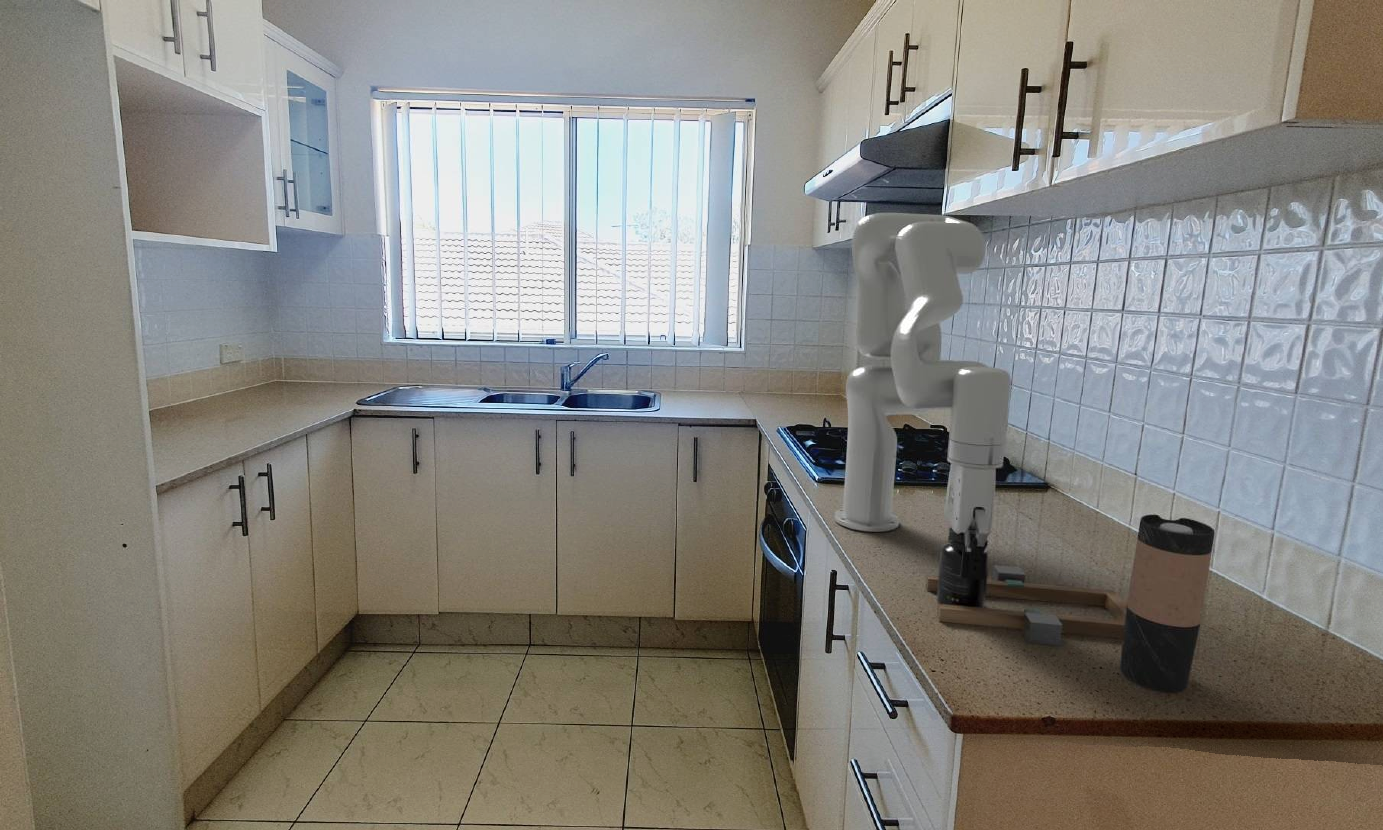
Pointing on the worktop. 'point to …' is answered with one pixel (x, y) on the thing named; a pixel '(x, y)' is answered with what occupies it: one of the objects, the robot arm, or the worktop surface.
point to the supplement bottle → (958, 576)
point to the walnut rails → (1043, 594)
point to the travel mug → (1165, 602)
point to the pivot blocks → (1034, 624)
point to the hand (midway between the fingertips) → (965, 565)
